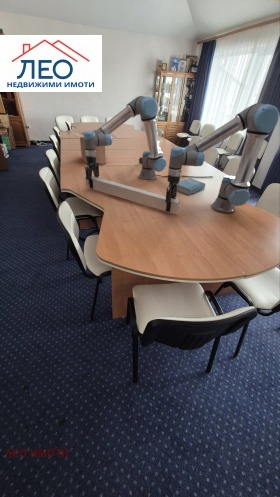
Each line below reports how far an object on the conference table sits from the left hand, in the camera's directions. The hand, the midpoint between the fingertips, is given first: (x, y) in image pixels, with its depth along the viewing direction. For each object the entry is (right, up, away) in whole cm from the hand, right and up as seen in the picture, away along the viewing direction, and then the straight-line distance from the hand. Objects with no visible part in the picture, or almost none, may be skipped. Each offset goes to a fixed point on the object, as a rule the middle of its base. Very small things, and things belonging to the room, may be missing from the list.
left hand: (93, 187), depth 172 cm
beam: (+28, -12, -12) cm, 32 cm away
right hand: (+56, -22, -24) cm, 65 cm away
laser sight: (+46, +44, +68) cm, 93 cm away
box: (-14, +46, +65) cm, 81 cm away
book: (+78, +2, +15) cm, 79 cm away
